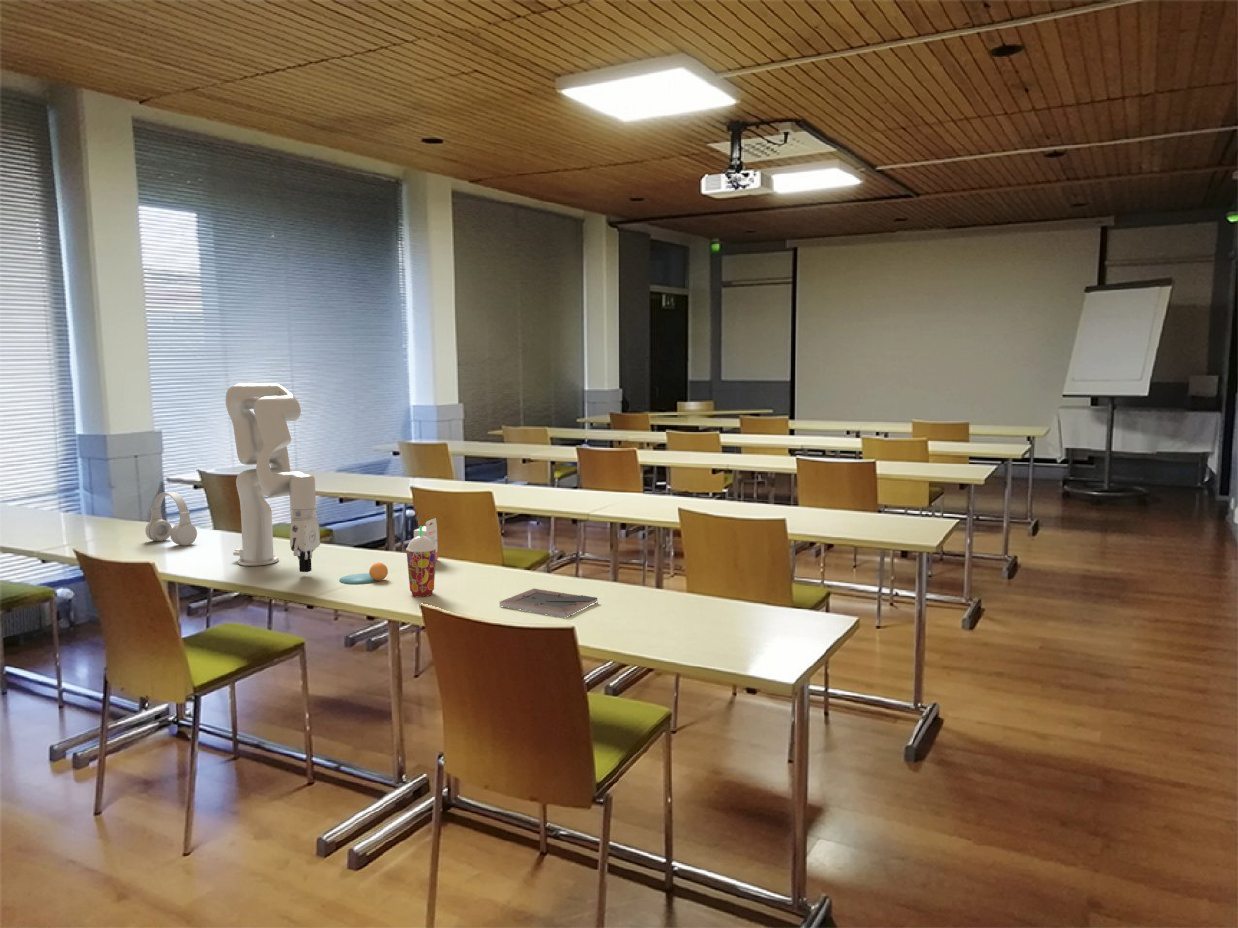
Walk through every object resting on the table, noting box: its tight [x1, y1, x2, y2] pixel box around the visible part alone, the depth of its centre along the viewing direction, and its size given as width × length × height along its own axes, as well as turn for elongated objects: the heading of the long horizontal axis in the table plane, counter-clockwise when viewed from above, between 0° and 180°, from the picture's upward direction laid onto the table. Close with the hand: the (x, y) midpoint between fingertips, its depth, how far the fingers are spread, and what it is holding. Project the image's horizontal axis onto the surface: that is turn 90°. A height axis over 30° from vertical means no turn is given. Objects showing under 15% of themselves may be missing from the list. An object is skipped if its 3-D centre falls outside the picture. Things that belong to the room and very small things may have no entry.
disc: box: [338, 572, 378, 585], centre depth 262 cm, size 13×13×1 cm
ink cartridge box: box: [413, 517, 439, 562], centre depth 285 cm, size 9×5×15 cm, turn 168°
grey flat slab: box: [499, 588, 598, 618], centre depth 234 cm, size 16×2×22 cm
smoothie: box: [405, 525, 436, 597], centre depth 244 cm, size 8×8×20 cm
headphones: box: [145, 491, 198, 547], centre depth 315 cm, size 20×8×19 cm, turn 60°
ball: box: [368, 562, 389, 582], centre depth 260 cm, size 6×6×6 cm
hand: (305, 571), depth 266 cm, fingers closed
